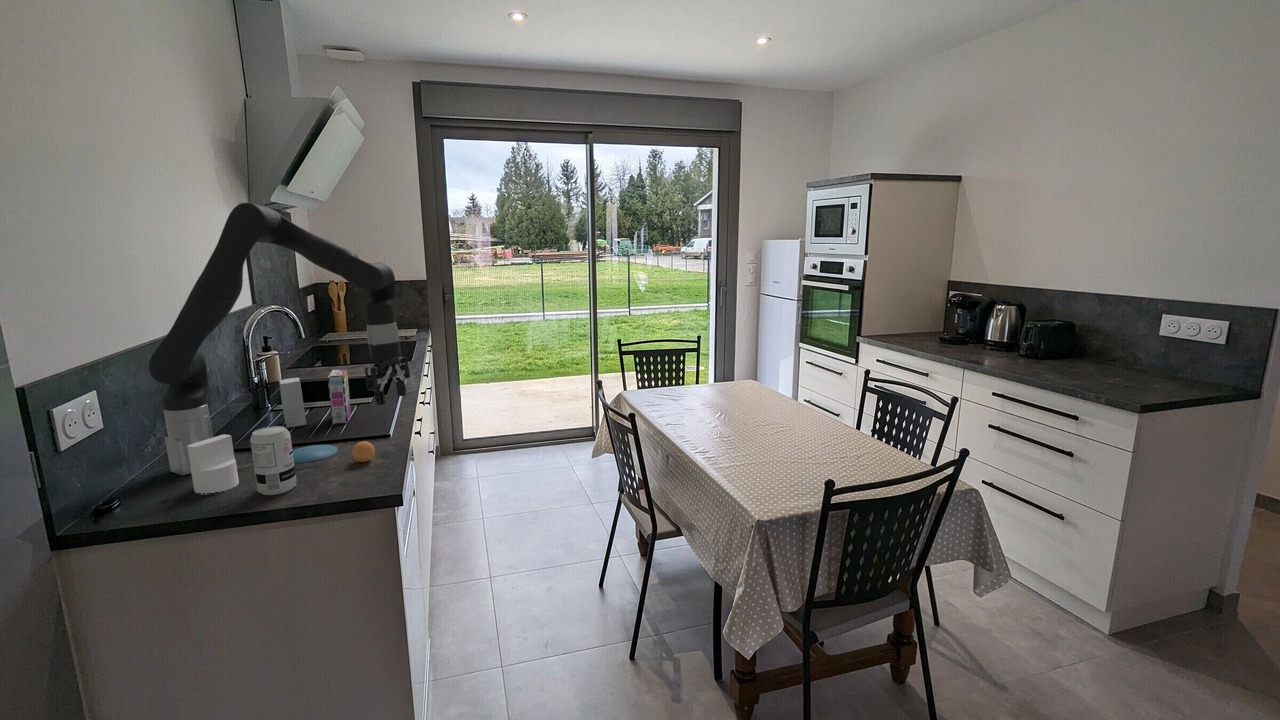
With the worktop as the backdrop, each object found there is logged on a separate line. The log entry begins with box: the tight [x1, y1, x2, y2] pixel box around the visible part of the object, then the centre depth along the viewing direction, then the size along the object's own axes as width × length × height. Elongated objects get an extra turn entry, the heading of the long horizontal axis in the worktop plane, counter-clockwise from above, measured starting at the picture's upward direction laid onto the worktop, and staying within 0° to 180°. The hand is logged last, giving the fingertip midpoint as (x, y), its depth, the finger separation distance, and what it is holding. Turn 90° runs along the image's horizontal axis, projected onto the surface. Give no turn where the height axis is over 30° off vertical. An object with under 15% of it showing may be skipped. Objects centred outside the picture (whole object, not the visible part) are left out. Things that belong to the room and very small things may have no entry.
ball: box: [351, 440, 376, 463], centre depth 160 cm, size 6×6×6 cm
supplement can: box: [249, 425, 298, 496], centre depth 142 cm, size 8×8×15 cm
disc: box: [292, 444, 339, 464], centre depth 167 cm, size 14×14×1 cm
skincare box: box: [278, 377, 308, 428], centre depth 193 cm, size 8×6×15 cm
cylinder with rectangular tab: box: [187, 434, 240, 495], centre depth 144 cm, size 9×9×12 cm
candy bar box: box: [327, 368, 352, 425], centre depth 197 cm, size 11×5×16 cm, turn 21°
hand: (391, 400), depth 156 cm, fingers open, 8 cm apart
